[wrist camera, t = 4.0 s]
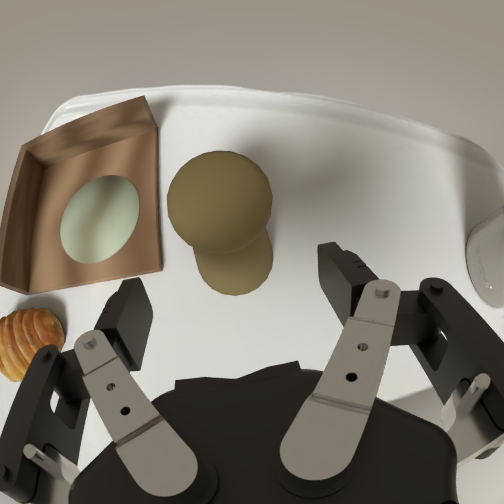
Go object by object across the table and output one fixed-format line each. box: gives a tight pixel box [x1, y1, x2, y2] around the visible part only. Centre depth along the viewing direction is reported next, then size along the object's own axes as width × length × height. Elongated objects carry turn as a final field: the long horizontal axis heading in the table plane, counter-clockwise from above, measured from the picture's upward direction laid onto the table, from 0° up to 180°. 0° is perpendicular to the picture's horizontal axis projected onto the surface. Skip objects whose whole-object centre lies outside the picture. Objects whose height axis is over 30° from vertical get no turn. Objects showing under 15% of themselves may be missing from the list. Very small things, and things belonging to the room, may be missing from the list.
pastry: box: [0, 308, 64, 382], centre depth 19 cm, size 9×7×4 cm
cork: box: [167, 151, 273, 296], centre depth 18 cm, size 6×6×11 cm
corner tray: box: [0, 96, 162, 295], centre depth 22 cm, size 16×16×5 cm
